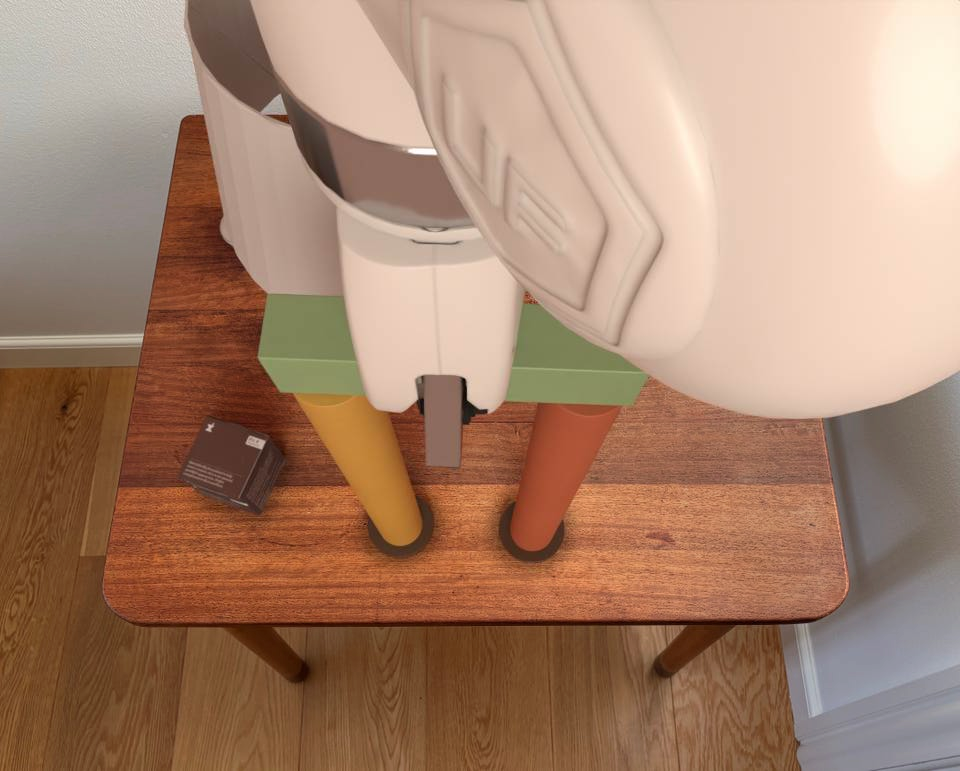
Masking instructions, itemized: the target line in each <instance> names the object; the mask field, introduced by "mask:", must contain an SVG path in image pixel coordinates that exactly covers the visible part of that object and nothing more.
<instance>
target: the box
mask: <svg viewBox="0 0 960 771" xmlns="http://www.w3.org/2000/svg"><path fill="white" fill-rule="evenodd" d="M286 460H287V457H285V455H284V454H283V453H282V452H281V450H280V449H279V447H278V446H277V445H276V444H275V443H274V441H273V440H272V439H271V437H270V435H268V434H265V433H262V432H261V431H260V432H259V431H256V430H253V429H251V428H248V427H245V426H242V425H240V424H238V423H234V422H231V421H227V420H224V419H222V418H219V417H216V416H213V415H206V416H205V419H204V421H203V423H202V424H201V427H200V429H199V430H198V432H197V435H196V437H195V439H194V441H193V443H192V444H191V447H190V449H189V451H188V452H187V455H186V456H185V459H184V460H183V463H182V464H181V466H180V469H179V470H178V472H177V474H176V477H177V478H179V479H180V480H182V482H185V483H186V484H187V485H188V486H190V487H191V488H192V489H194V490H196V491H197V492H198V493H200V494H201V495H203V496H204V497H206V498H207V499H211V500H214V501H216V502H219V503H222V504H224V505H227V506H229V507H232V508H235V509H238V510H242V511H244V512H246V513H249V514H252V515H256V516H258V517H260V516H261V515H262V514H263V512H264V510H265V508H266V506H267V503H268V501H269V498H270V496H271V493H272V491H273V489H274V486H275V485H276V482H277V480H278V478H279V476H280V474H281V471H282V470H283V468H284V465H285V463H286Z"/></svg>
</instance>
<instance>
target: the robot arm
mask: <svg viewBox="0 0 960 771" xmlns="http://www.w3.org/2000/svg"><path fill="white" fill-rule="evenodd" d="M250 2H251V5H252V8H253V11H254V14H255V17H256V21H257V24H258V27H259V30H260V33H261V36H262V39H263V42H264V44H265V47H266V50H267V54H268V57H269V60H270V63H271V66H272V69H273V72H274V75H275V78H276V82H277V85H278V88H279V91H280V94H279V95H280V98H281V99H282V103H283V106H284V109H285V112H286V115H287V119H288V121H289V125H291V128H292V131H293V134H294V138H295V141H296V145H297V148H298V151H299V154H300V157H301V159H302V162H303V164H304V166H305V168H306V170H307V172H308V173H309V175H310V176H311V178H312V179H313V181H314V182H315V184H316V185H317V187H318V188H319V189H320V190H321V191H322V193H323V194H324V195H325V196H326V197H327V198H328V199H329V200H330V201H331V202H332V203H333V204H334V205H336V218H337V236H338V251H339V262H340V272H341V281H342V289H343V296H344V302H345V308H346V314H347V319H348V325H349V330H350V335H351V339H352V344H353V348H354V352H355V356H356V361H357V365H358V369H359V373H360V377H361V381H362V385H363V388H364V392H365V395H366V397H367V399H368V400H369V402H370V403H371V405H372V406H373V407H374V408H375V409H377V410H382V411H388V413H389V412H390V413H400V414H401V413H404V412H405V411H407V410H408V409H409V408H410V407H412V405H414V404H415V403H416V407H417V409H418V411H419V415H420V416H423V420H424V444H425V445H424V446H425V447H424V448H425V449H424V450H425V467H426V468H438V469H439V468H440V469H441V468H442V469H443V468H444V469H461V467H462V454H463V438H464V426H469V425H470V422H472V418H476V415H491V414H492V413H493V412H495V411H497V409H499V408H500V407H501V405H502V404H503V403H504V402H505V401H504V400H505V398H506V395H507V391H508V386H509V381H510V376H511V370H512V365H513V359H514V353H515V348H516V342H517V335H518V329H519V323H520V317H521V310H522V304H523V297H524V290H526V292H527V293H528V294H529V295H530V296H531V297H532V298H533V299H534V301H536V303H537V304H540V305H541V306H542V307H543V308H544V309H545V310H547V311H548V312H549V313H550V314H551V315H552V316H554V317H555V318H556V319H557V320H558V321H560V322H561V323H562V324H563V325H564V326H565V327H567V328H568V329H570V330H571V331H573V332H575V333H576V334H578V335H579V336H581V337H583V338H584V339H586V340H587V341H589V342H591V343H593V344H595V345H597V346H599V347H601V348H603V349H606V350H609V351H611V352H614V353H617V354H619V355H620V356H622V357H623V358H625V359H626V360H627V361H629V362H630V363H632V364H633V365H635V366H636V367H638V368H639V369H641V370H642V371H644V372H645V373H647V374H648V375H650V376H649V377H651V378H653V379H655V380H656V381H658V382H659V383H661V384H662V385H664V386H666V387H668V388H670V389H672V390H674V391H676V392H678V393H680V394H681V395H684V396H686V397H688V398H690V399H694V400H697V401H700V402H703V403H705V404H708V405H712V406H715V407H718V408H721V409H725V410H727V411H731V412H734V413H737V414H740V415H745V416H753V417H760V418H766V419H782V420H783V419H786V420H807V419H808V420H809V419H829V418H833V417H834V418H835V417H838V416H843V415H847V414H851V413H855V412H859V411H860V412H861V411H864V410H868V409H872V408H877V407H879V406H884V405H888V404H893V403H896V402H898V401H900V400H903V399H905V398H907V397H910V396H912V395H914V394H917V393H919V392H923V391H924V390H927V389H928V388H930V387H933V386H935V385H936V384H937V383H938V384H939V382H942V381H944V380H945V379H948V378H949V377H951V376H953V375H954V374H956V373H958V372H959V371H960V0H250ZM524 298H525V297H524Z"/></svg>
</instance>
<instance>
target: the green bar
mask: <svg viewBox="0 0 960 771" xmlns="http://www.w3.org/2000/svg"><path fill="white" fill-rule="evenodd" d="M265 300H266V301H265V306H264V312H263V319H262V325H261V331H260V337H259V338H260V339H259V345H258V350H257V360H258V361H259V363H260V364H261V366H262V367H263V369H264V370H265V372H266V373H267V375H268V376H269V378H270V379H271V381H272V382H273V384H274V385H275V387H276V389H277V390H278V391H279V393H283V394H287V393H288V394H293V393H307V394H333V395H358V396H366V395H365V392H364V388H363V385H362V381H361V377H360V373H359V369H358V365H357V361H356V356H355V352H354V348H353V344H352V339H351V335H350V330H349V325H348V319H347V314H346V308H345V302H344V296H319V295H293V294H267V293H266V299H265ZM650 377H651V376H650V375H648V374H647V373H645V372H644V371H642V370H641V369H639V368H638V367H636V366H635V365H633V364H632V363H630V362H629V361H627V360H626V359H625V358H623V357H622V356H620V355H619V354H617V353H614V352H611V351H609V350H606V349H603V348H601V347H599V346H597V345H595V344H593V343H591V342H589V341H587V340H586V339H584V338H583V337H581V336H579V335H578V334H576V333H575V332H573V331H571V330H570V329H568V328H567V327H565V326H564V325H563V324H562V323H561V322H560V321H558V320H557V319H556V318H555V317H554V316H552V315H551V314H550V313H549V312H548V311H547V310H545V309H544V308H543V307H542V306H541V305H540V304H539V303H527V302H526V303H525V302H524V303H523V304H522V310H521V317H520V323H519V329H518V335H517V342H516V348H515V353H514V359H513V365H512V370H511V376H510V381H509V386H508V391H507V395H506V398H505V400H504V402H512V403H513V402H516V403H517V402H519V403H538V402H539V403H564V404H590V405H616V406H622V407H633V405H634V403H635V402H636V400H637V398H638V397H639V395H640V394H641V392H642V390H643V388H644V387H645V385H646V383H647V381H648V380H649V378H650Z"/></svg>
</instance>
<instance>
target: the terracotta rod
mask: <svg viewBox="0 0 960 771" xmlns="http://www.w3.org/2000/svg"><path fill="white" fill-rule="evenodd" d="M622 408H623V406H616V405H590V404H564V403H539V402H537V404H536V410H535V413H534V418H533V421H532V428H531V431H530V434H529V435H530V436H529V440H528V444H527V449H526V454H525V458H524V461H523V467H522V471H521V476H520V481H519V485H518V490H517V494H516V498H515V501H513V502H512V503H510V504H509V505H508V506H507V507H506V508H505V510H503V512H502V515H501V517H500V520H499V524H498V536H499V540H500V543H501V544H502V547H503V549H504V550H505V551H506V553H507V554H508V555H509V556H510V557H512V558H513V559H514V560H516V561H518V562H521V563H524V564H530V565H531V564H532V565H533V564H540V563H543V562H547V561H548V560H550V559H551V558H552V557H553V556H555V555H556V554H557V552H559V549H561V547H562V544H563V542H564V539H565V532H566V531H565V529H566V528H565V527H566V526H565V524H564V523H565V522H564V517H565V516H566V513H567V511H568V510H569V508H570V506H571V504H572V502H573V500H574V499H575V496H576V495H577V493H578V490H579V489H580V487H581V485H582V483H583V481H584V479H585V477H586V476H587V474H588V472H589V470H590V468H591V466H592V464H593V462H594V461H595V459H596V457H597V455H598V454H599V451H600V449H601V447H602V445H603V444H604V442H605V440H606V438H607V436H608V434H609V432H610V431H611V428H612V427H613V425H614V423H615V421H616V420H617V417H618V415H619V413H620V412H621V410H622Z"/></svg>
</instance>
